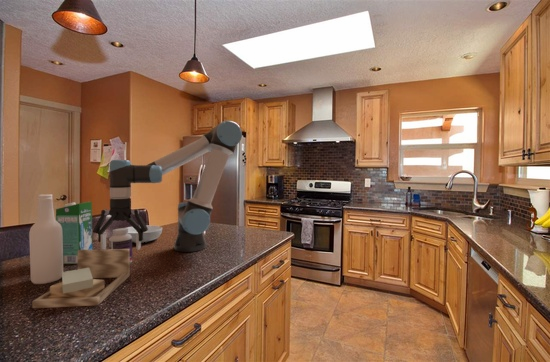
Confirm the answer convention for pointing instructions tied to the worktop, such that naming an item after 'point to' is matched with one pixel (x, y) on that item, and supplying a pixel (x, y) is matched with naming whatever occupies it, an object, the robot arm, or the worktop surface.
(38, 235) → the alcohol
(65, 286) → the offcut top
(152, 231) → the serving bowl
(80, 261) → the rack
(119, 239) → the pill bottle
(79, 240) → the milk carton
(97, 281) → the block
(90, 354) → the worktop surface
